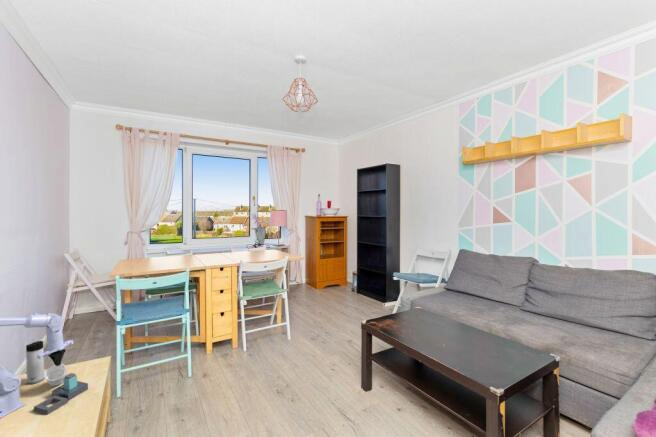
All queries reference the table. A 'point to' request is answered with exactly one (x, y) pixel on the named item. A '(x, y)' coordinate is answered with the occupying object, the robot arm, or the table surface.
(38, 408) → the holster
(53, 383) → the clear glass jar
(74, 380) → the plug
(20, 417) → the table surface
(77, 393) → the port
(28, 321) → the robot arm
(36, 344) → the travel mug
